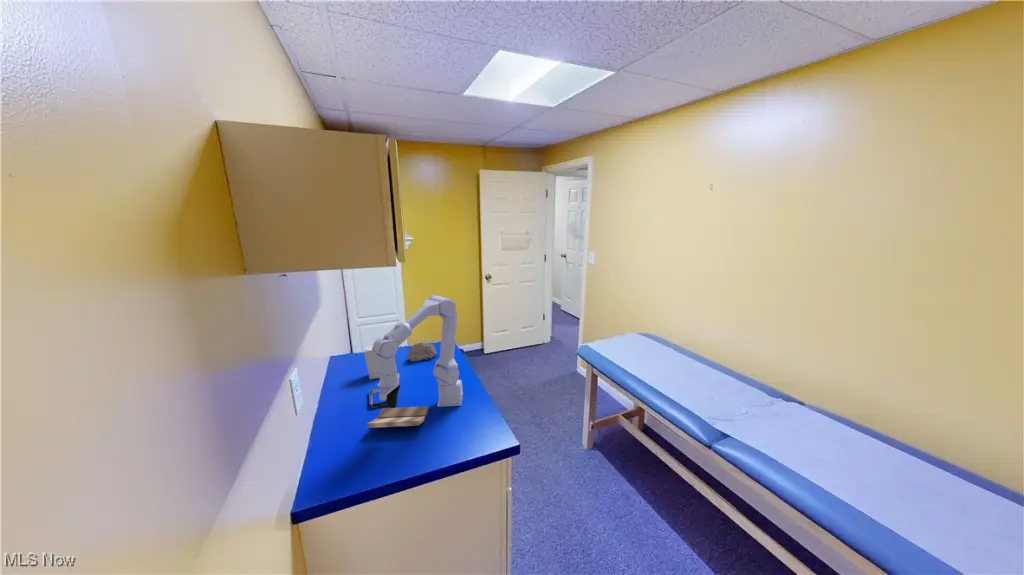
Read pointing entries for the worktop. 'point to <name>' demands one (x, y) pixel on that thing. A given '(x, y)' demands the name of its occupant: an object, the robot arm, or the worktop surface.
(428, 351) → the pumice stone
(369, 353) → the skincare box
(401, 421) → the maple plank
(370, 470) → the worktop surface
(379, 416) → the walnut strip
